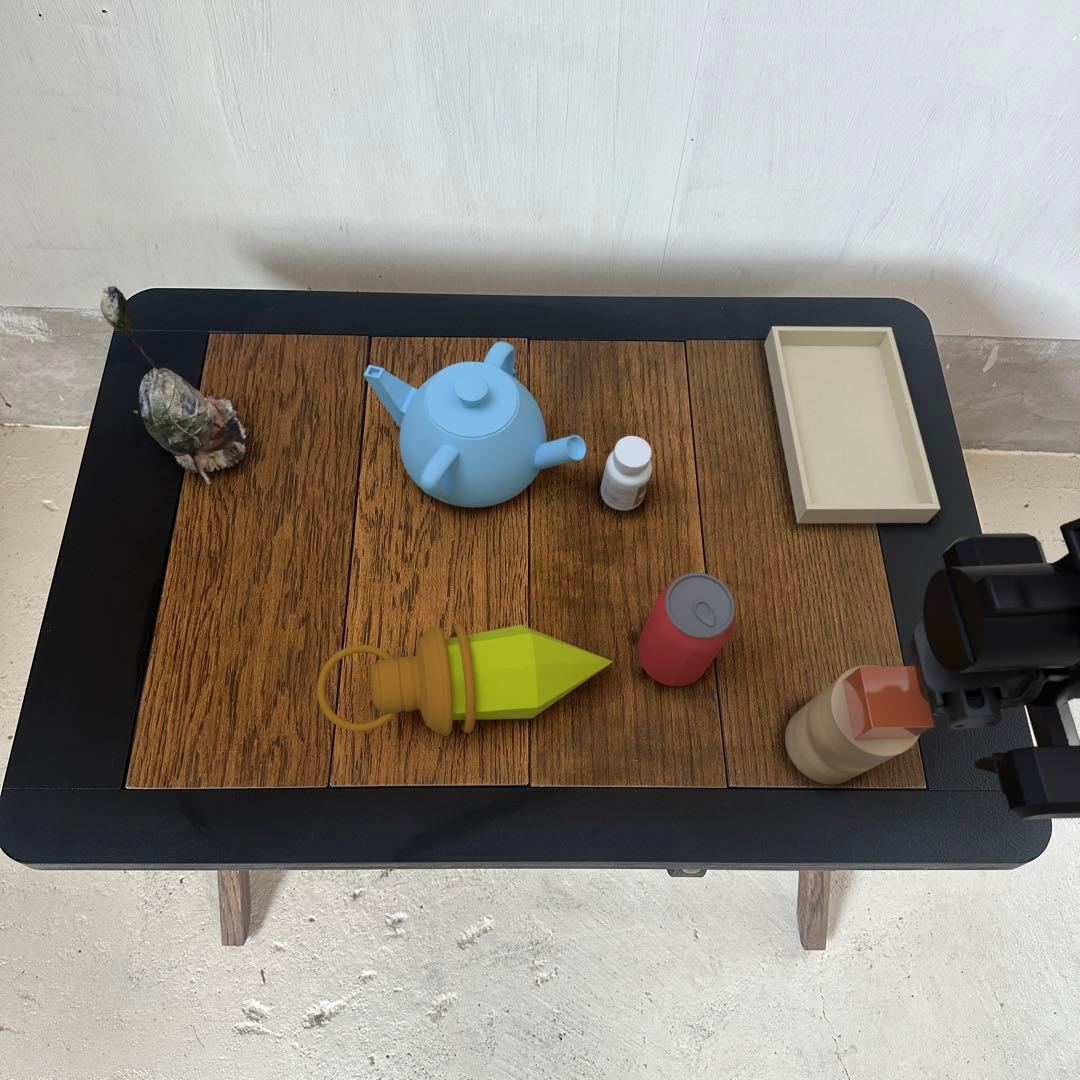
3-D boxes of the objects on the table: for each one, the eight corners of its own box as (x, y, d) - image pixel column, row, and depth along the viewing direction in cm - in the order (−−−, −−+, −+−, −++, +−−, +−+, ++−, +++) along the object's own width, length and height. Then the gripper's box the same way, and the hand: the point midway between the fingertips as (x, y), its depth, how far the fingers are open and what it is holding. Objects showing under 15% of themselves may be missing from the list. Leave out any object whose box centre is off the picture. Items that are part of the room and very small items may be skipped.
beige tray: (926, 523, 85) (940, 508, 82) (797, 523, 84) (806, 509, 81) (880, 344, 95) (891, 326, 92) (764, 344, 94) (771, 325, 91)
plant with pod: (156, 496, 82) (61, 367, 64) (173, 399, 87) (90, 255, 69) (242, 495, 83) (171, 366, 65) (254, 399, 88) (192, 255, 70)
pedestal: (872, 722, 75) (931, 685, 65) (854, 797, 72) (913, 770, 62) (796, 692, 76) (843, 650, 66) (775, 765, 73) (821, 733, 63)
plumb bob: (592, 617, 79) (316, 644, 73) (620, 600, 71) (310, 630, 65) (606, 715, 77) (323, 751, 71) (637, 711, 69) (318, 751, 63)
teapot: (442, 556, 81) (435, 498, 71) (371, 420, 87) (355, 349, 77) (583, 494, 84) (595, 431, 74) (505, 368, 91) (506, 294, 81)
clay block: (912, 738, 63) (934, 726, 60) (853, 739, 63) (872, 727, 60) (899, 679, 65) (920, 665, 62) (842, 680, 65) (859, 666, 62)
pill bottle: (644, 512, 84) (658, 472, 77) (600, 511, 84) (610, 470, 77) (643, 474, 86) (656, 431, 79) (599, 472, 86) (609, 429, 79)
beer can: (660, 701, 75) (687, 658, 65) (623, 638, 78) (643, 586, 67) (721, 669, 77) (758, 621, 66) (683, 608, 79) (713, 553, 69)
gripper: (923, 490, 53) (835, 588, 67) (1004, 798, 45) (885, 837, 59) (1095, 489, 54) (973, 587, 67) (1207, 793, 45) (1041, 833, 59)
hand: (965, 702), depth 63 cm, fingers open, 9 cm apart
